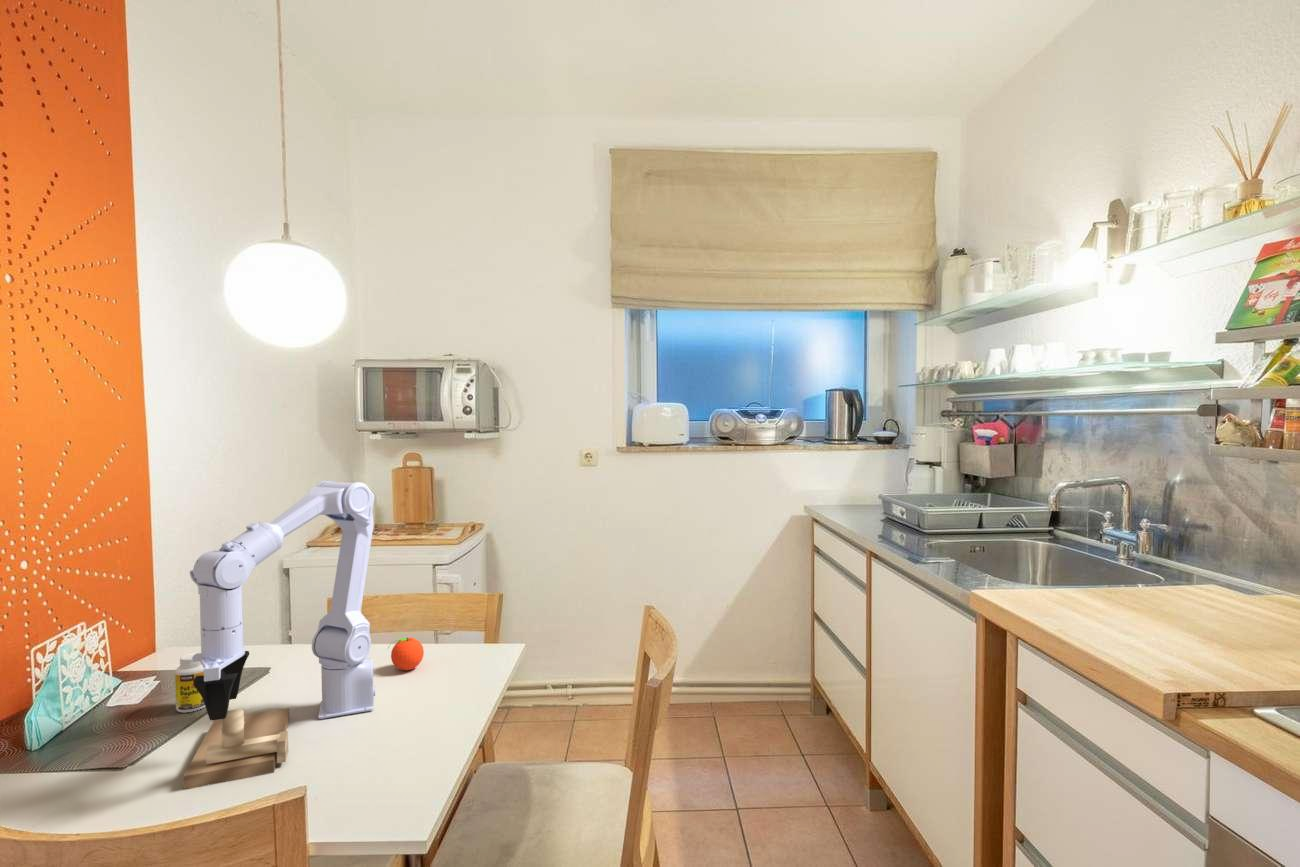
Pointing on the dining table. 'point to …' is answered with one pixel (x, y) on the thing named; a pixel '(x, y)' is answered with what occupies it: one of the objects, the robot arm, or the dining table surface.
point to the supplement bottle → (188, 685)
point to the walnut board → (240, 767)
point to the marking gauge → (245, 742)
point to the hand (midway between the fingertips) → (223, 708)
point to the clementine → (407, 653)
